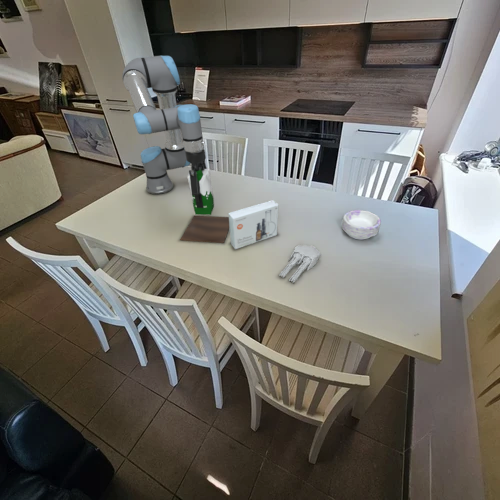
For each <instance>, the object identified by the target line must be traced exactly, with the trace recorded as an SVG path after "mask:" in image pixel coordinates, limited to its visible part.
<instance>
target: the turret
mask: <svg viewBox="0 0 500 500" xmlns="http://www.w3.org/2000/svg"><path fill="white" fill-rule="evenodd" d="M321 255H322V253H321V252H320V251H319V249H317V248H316V246H314V245H310V244H299V245H296V246H295V247H294V249H293V251H292V253H291V255H290V257H289V259H288V261H287V265H286V266H285V267H284V268H283V270H282V271H280V273H279V275H278V277H282V278H283V279H284V278H285V277H286V276H287V275H288V274H289V273H290V271H291V270H292V269H293V268H294V267H295V266H296V265H299V267H298V268H297V269H296V271H294V273H293V274H292V276H290V278H289V280H288V282H291V283H292V284H294V283H295V282H296V281H297V279H298V278H299V277H300V276H301V274H303V272H304V271H305V270H306V271H309V270H311V269H312V268H313V267H315V266H316V264H317V263H318V261H319V259H320V258H321Z"/></svg>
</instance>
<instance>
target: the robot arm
mask: <svg viewBox="0 0 500 500" xmlns="http://www.w3.org/2000/svg"><path fill="white" fill-rule="evenodd" d="M121 78H122V82H123V86H124V88H125V89H126V91H128V93H129V95H130V98H131V101H132V103H133V104H132V105H133V106H134V109H135V113H133V114H132V116H133V122H134V125H135V128H136V132H137V133H138V134H139V135H151V134H156V133H161V132H164V135H165V140H166V142H165V143H164V148H162V147H161V146H158V145H156V146H155V145H154V146H149V147H147V148H145V149H143V150H142V151H141V152H140V159H141V163H142V166H143V169H144V173H145V176H146V191H147V193H148V194H150V195H163V194H167V193H169V192H170V191H172V190H173V189H174V183H173V181H172V179H171V178H170V177H169V175H168V171H170V170H177V169H179V168H183V169H184V168H186V167H189V166H190V168H191V169H189V170H188V174H190V181H191V191H192V195H195V200H196V206H197V208H203V201H202V195H201V193H200V184H199V181H197V172H196V171H198V170H201V169H202V170H203V171H204V170H205V169H208V168H207V164H206V159H207V157H206V156H207V155H206V151H205V144H206V143H205V140H204V137H203V129H202V122H201V114H200V111H199V110H200V109H199V107H198V106H197V105H196V104H191V103H189V104H188V103H187V104H177V99H176V93H177V91H178V86H179V85H180V84H181V81H180V80H181V79H180V75H179V71H178V69H177V65H176V63H175V61H174V59H173V57H172V56H170V55H153V56H145V57H136V58H133V59H131V60H130V61H129V62H128V63H127V64H126V65H125V66H124V68H123V71H122V77H121ZM149 89H152V90H151V91H152V92H153V93H154V94H155V95H156V97H157V101H158V107H159V109H157V107H156V105H155V103H154V101H153V98H152V95H151V94H150V91H149Z"/></svg>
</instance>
